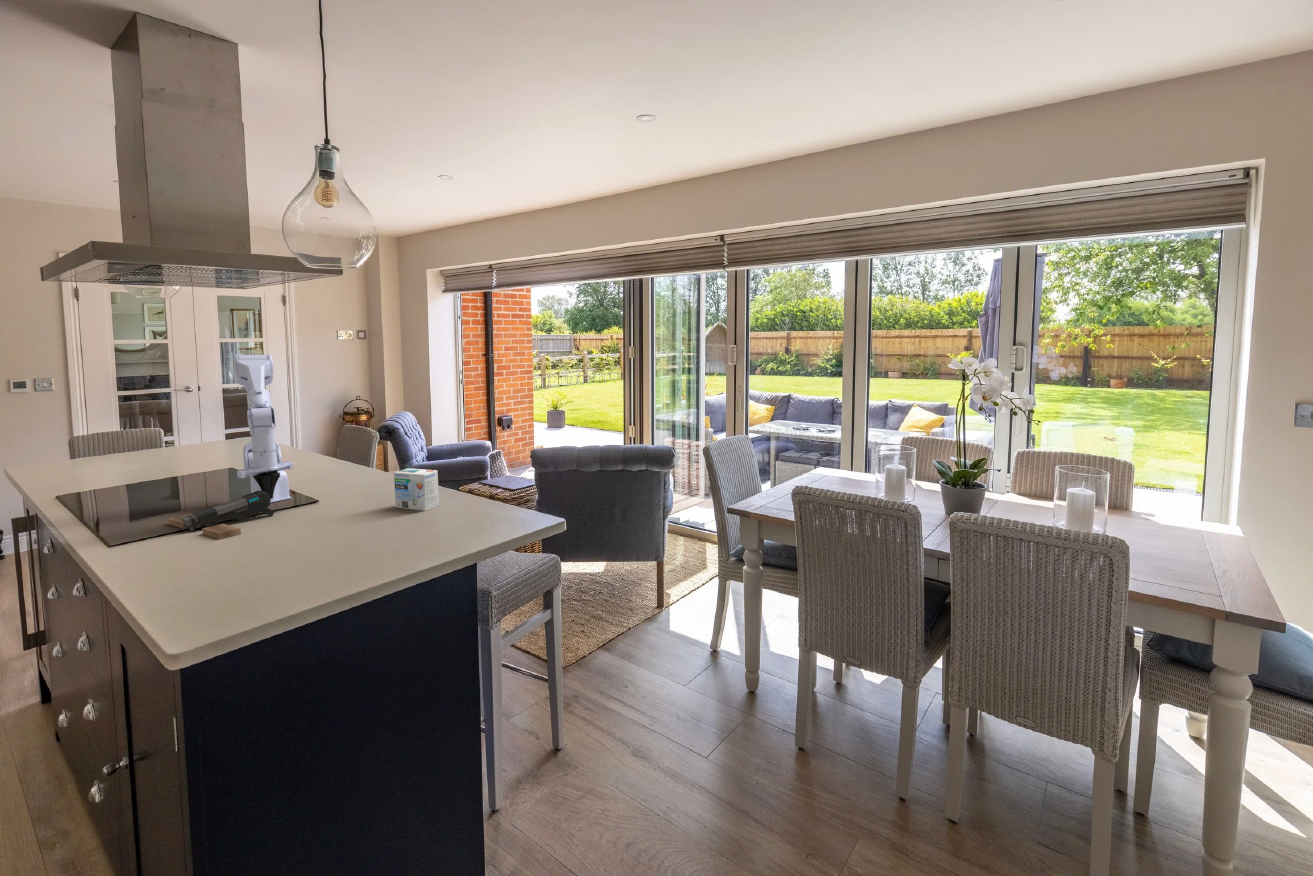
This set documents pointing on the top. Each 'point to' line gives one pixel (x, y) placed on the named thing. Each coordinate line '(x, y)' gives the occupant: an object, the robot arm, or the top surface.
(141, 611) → the top surface
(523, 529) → the top surface
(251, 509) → the gun
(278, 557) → the top surface
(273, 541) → the top surface
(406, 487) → the light bulb box
